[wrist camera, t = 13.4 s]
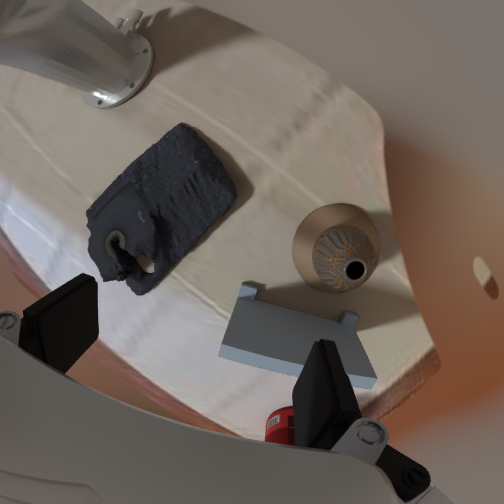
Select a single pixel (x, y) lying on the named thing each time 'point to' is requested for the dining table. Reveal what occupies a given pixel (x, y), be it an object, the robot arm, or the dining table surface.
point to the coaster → (315, 226)
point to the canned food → (281, 427)
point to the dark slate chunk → (158, 209)
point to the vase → (343, 257)
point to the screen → (290, 338)
